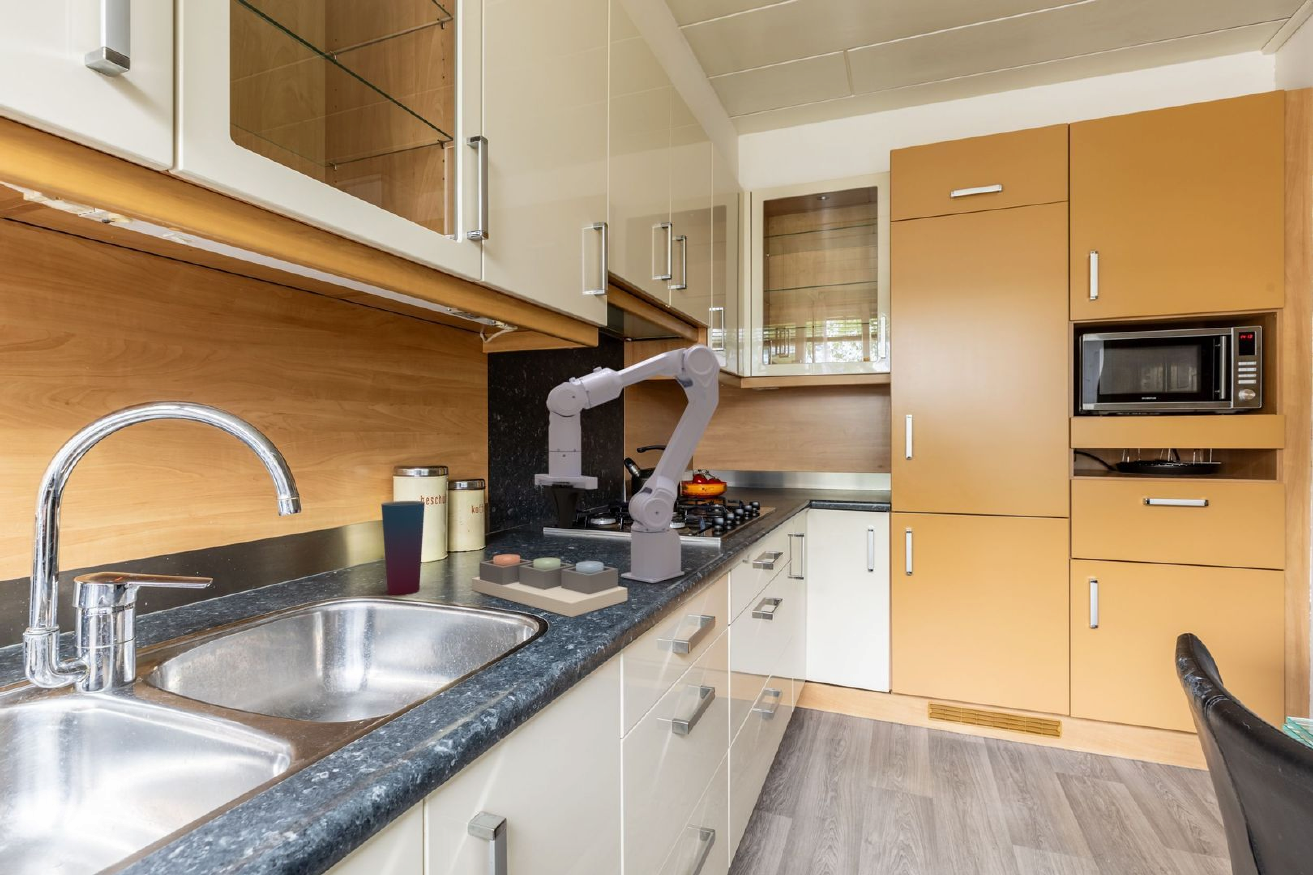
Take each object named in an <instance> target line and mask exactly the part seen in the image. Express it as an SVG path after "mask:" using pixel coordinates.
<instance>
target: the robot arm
mask: <svg viewBox="0 0 1313 875" xmlns="http://www.w3.org/2000/svg"><path fill="white" fill-rule="evenodd" d="M720 370H721V365H720V362H719V361H718V358H717V356H716V353H715V352H714V351H713V349H711V347H709V346H707V345H705V344H695V345H692V346H691V347H689V348H688V349H687V348H686V347H685V348H679V349H674V350H670V351H666V352H663V353H660V354H657V355H654V356H653V357H651V358H648V359H646V360H643V361H640V362H638V363H636V364H633V365H631V366H628V367H626V368H624V369H621V370H618V371H616V370H614V369H611V368H609V367H605V368H603V369H602V367H601V366H599V367H596V368H594V369H593V372H592V373H589V374H586V375H584V376H581V377H579V378H575V377H571V378H569V380H568V381H567V382H566V381H565V382H562V383H561V384H559V385H557V386H556V387H553V389H552V390H550V392H549V394H548V397H547V400H546V408H547V409H548V411H549V416H548V419H549V425H548V473H539V474H537V473H536V474H534V485H535V486H542V485H543V486H549V487H550V486H551V487H550V488H546V489H545V494H546V496H547V497H548V500H549V501H550V504H551V505H552V508H553V511H554V514H555V518H556V522H557V526H558V528H560V529H567V528H572V527H573V522H574V519H575V515H576V511H577V508H578V505H579V502H580V501H581V498H582V497H583V495H584V494H585V490H594V489H595V490H596V489H598V477H597V476H595V477H594V476H588V475H582V426H581V411H582V410H583V409H585V410H588V409H591V408H595V407H596V406H598V405H601V404H604V403H607V402H610V401H611V400H614V399H617V398H619V397H620V395H621V392H622V389H624V388H625V387H627V386H630V385H633V384H636V383H638V382H639V383H640V382H642V381H644V380H648V379H650V378H653V377H656V376H658V375H659V376H664V377H667V378H671V377H674V379H675V380H676V381H677V383H678V384H680V386H681V387H682V389H683V390H684V392H685V395H686V397H687V401H688V403H687V406H686V408H685V410H684V412H682V413H683V414H682V416H681V417H680V420H679V421H678V424H677V425H676V427H675V429H674V431H673V433H672V436H671V437H670V439H669V441H668V443H667V445H666V447H665V449H664V451H663V453H662V454H661V458H660V459H659V461H658V463H657V465H656V467H655V469H654V470H653V473H652V475H650V477H649V478H648V479H647V480H646V481H645V482H644V484H643V486H642V488H641V489H640V490H639V491H638V492H637V493H635V494H634V495H633V496H632V497H631V499H630V500H629V504H628V512H629V513H628V514H629V515H630V517H631V518H632V520H634V521H633V523H632V524H631V526H630V571H629V572H624V573H622V574H620V577H621V578H624V579H629V580H635V581H640V582H646V583H651V584H654V583H659V582H662V581H664V580H665V581H666V580H670V579H672V578H677V577H680V576H684V575H685V571H682V542H681V537H680V535H679V533H678V531H677V530H676V529H674V528H673V527H670V526H671V525H670V523H671V522H672V520H673V517H674V505H675V502H676V500H677V497H678V486H679V484H680V481H681V479H682V478H683V475H684V473H685V472H686V469H687V467H688V465H689V464H690V461H691V459H692V458H693V455H694V453H695V451H696V449H697V447H698V445H699V443H700V441H701V439H702V438H703V435H704V434H705V431H706V429H707V427H708V425H709V423H710V421H711V419H712V417H713V415H714V413H715V411H716V409H717V406H718V405H719V401H720V399H719V394H720V393H719V390H720V389H719V374H720Z"/></svg>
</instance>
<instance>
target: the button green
mask: <svg viewBox="0 0 1313 875" xmlns="http://www.w3.org/2000/svg"><path fill="white" fill-rule="evenodd" d="M533 562H534V568H536V569H541V570H549V569H554V568H559V567H560V562H561V559H560V558H557V557H540V558H535V559H533Z"/></svg>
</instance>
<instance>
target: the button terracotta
mask: <svg viewBox="0 0 1313 875" xmlns="http://www.w3.org/2000/svg"><path fill="white" fill-rule="evenodd" d="M520 559H521V556H520V555H519V554H511V553H508V554H507V553H505V554H498V555H494V556H493V559H492V560H493V564H494V565H499V566H503V567H504V566H509V565H514V564H519V563H520Z"/></svg>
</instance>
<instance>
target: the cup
mask: <svg viewBox="0 0 1313 875" xmlns="http://www.w3.org/2000/svg"><path fill="white" fill-rule="evenodd" d="M425 505H426V504H425V501H422V500H397V501H396V500H395V501H386V502H383V503H381V516H382V518H381V519H382V531H383V547H384V560H385V561H384V562H385V563H384V564H385V573H386V574H385V575H386V577H385V578H386V588H387V589H386V591H387V594H388V595H391V596H405V595H413V594H415V593H417V592H419V591H420V588H421V587H420V583H421V572H422V571H421V570H422V569H421V568H422V555H423V554H422V552H423V550H422V549H423V537H424V522H425V521H424V520H425V518H424V517H425Z"/></svg>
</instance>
